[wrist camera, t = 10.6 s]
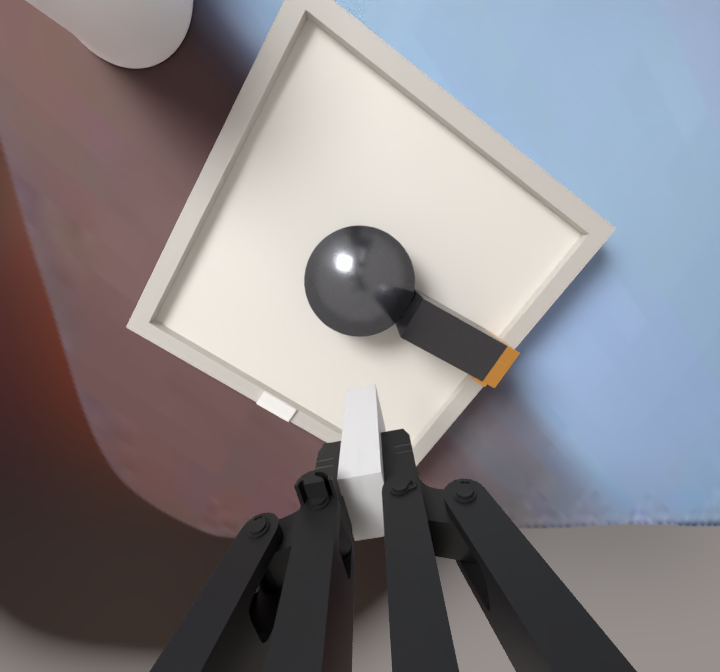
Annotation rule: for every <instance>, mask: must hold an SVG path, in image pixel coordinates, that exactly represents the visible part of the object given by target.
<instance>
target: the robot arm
mask: <svg viewBox="0 0 720 672" xmlns="http://www.w3.org/2000/svg"><path fill="white" fill-rule="evenodd" d="M315 468H316V469H315V470H313V471H310V472H307V473H306V474H304V475H302V476H301V477H300V478H299V479H298V480H297V482H296V484H295V486H294V487H295V490H296V492H297V495H298V498H299V501H300V504H301V507H300V509H299V510H298V511H296V512H295V513H293V514H291V515H289V516H286V517H284V518H282V519H278V517H277V516H276V515H275V514H272V513H262V514H259V515H257V516H255V517H253V518H252V519H251V520H249V521H248V522H247V523H246V524H245V525H244V526H243V528H242V529H241V531H240V532H239V534H238V535H237V537H236V538H235V540H234V541H233V543H232V545H231V546H230V548H229V549H228V551H227V552H226V554H225V555H224V557H223V559H222V560H221V562H220V563H219V565H218V567H217V568H216V570H215V571H214V573H213V574H212V576H211V577H210V579H209V580H208V582H207V583H206V585H205V586H204V588H203V590H202V591H201V593H200V594H199V596H198V597H197V599H196V600H195V602H194V604H193V605H192V607H191V608H190V610H189V612H188V613H187V615H186V616H185V618H184V619H183V621H182V622H181V624H180V625H179V627H178V628H177V630H176V632H175V633H174V635H173V636H172V638H171V639H170V641H169V642H168V644H167V645H166V647H165V649H164V651H163V652H162V653H161V655H160V656H159V658H158V659H157V661H156V663H155V664H154V666H153V667H152V669H151V670H150V672H352V640H353V603H354V567H355V554H354V548H353V545H352V532H353V535H354V539H355V541H357V540H363V539H369V538H376V537H382V536H384V539H385V556H386V571H387V572H386V573H387V588H388V605H389V622H390V639H391V654H392V655H391V656H392V672H459V669H458V664H457V660H456V655H455V650H454V645H453V640H452V635H451V631H450V626H449V621H448V617H447V612H446V607H445V602H444V597H443V592H442V587H441V583H440V578H439V573H438V568H437V563H436V559H435V556H439V557H444V558H450V559H455V560H456V562H457V564H458V566H459V568H460V570H461V572H462V574H463V575H464V577H465V579H466V581H467V583H468V585H469V586H470V588H471V590H472V592H473V594H474V595H475V597H476V599H477V601H478V603H479V605H480V606H481V608H482V610H483V612H484V613H485V616H486V617H487V619H488V621H489V623H490V625H491V627H492V628H493V630H494V632H495V634H496V636H497V638H498V639H499V641H500V643H501V645H502V647H503V649H504V650H505V652H506V654H507V656H508V658H509V660H510V661H511V663H512V665H513V667H514V668H515V670H516V672H637V671H636V670H635V669H634V668H633V667H632V665H631V664H630V663H629V662H628V661H627V659H626V658H625V657H624V656H623V654H622V653H621V652H620V651H619V650H618V648H617V647H616V646H615V645H614V644H613V643H612V641H611V640H610V639H609V638H608V636H607V635H606V634H605V633H604V632H603V630H602V629H601V628H600V627H599V626H598V624H597V623H596V622H595V621H594V620H593V618H592V617H591V616H590V615H589V613H588V612H587V611H586V610H585V609H584V608H583V606H582V605H581V604H580V603H579V602H578V600H577V599H576V598H575V597H574V596H573V594H572V593H571V592H570V591H569V589H568V588H567V587H566V586H565V584H564V583H563V582H562V581H561V580H560V578H559V577H558V576H557V575H556V574H555V573H554V571H553V570H552V569H551V568H550V566H549V565H548V564H547V563H546V562H545V560H544V559H543V558H542V557H541V556H540V554H539V553H538V552H537V551H536V549H535V548H534V547H533V546H532V545H531V543H530V542H529V541H528V540H527V539H526V537H525V536H524V535H523V534H522V533H521V531H520V530H519V529H518V528H517V527H516V525H515V524H514V523H513V522H512V521H511V519H510V518H509V517H508V516H507V514H506V513H505V512H504V511H503V510H502V508H501V507H500V506H499V505H498V504H497V502H496V501H495V500H494V499H493V498H492V496H491V495H490V494H489V493H488V492H487V490H486V489H485V488H484V487H483V486H482V485H481V484H479V483H478V482H476V481H473V480H471V479H459V480H454V481H453V482H451V483H449V484H448V485H447V486H446V488H445V489H444V490H443V489H435V488H431V487H429V486H426V485H425V484H424V483H422V481H421V480H420V479H419V477H418V473H417V468H416V464H415V459H414V454H413V450H412V445H411V440H410V435H409V434H408V433H407V432H406V431H405V430H404V429H398V430H392V431H387V432H386V428H385V424H384V420H383V415H382V411H381V407H380V402H379V398H378V393H377V389H376V385H375V384H370V385H365V386H360V387H355V388H349V389H347V392H346V402H345V411H344V420H343V429H342V438H341V441H336V442H331V443H325V444H324V445H323V447H322V448H321V449H320V451H319V452H318V457H317V462H316V467H315Z"/></svg>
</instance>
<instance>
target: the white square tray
mask: <svg viewBox="0 0 720 672" xmlns="http://www.w3.org/2000/svg"><path fill="white" fill-rule="evenodd" d="M358 225H360V226H370V227H374V228H377V229H380V230H382V231H384V232H386V233H388V234H390V235H391V236H393V237H394V238H395V239H396V240H397V241H398V242H399V243H400V244H401V245H402V246H403V247H404V249H405V250H406V252H407V253H408V255H409V257H410V259H411V262H412V265H413V268H414V274H415V288H414V289H416V290H418V291H420V292H421V293H423V294H425V295H427V296H429V297H430V298H432V299H434V300H436V301H437V302H439V303H441V304H443V305H444V306H446V307H448V308H450V309H452V310H453V311H455V312H457V313H459V314H460V315H462V316H464V317H466V318H467V319H469V320H471V321H473V322H474V323H476V324H478V325H480V326H482V327H483V328H485V329H487V330H489V331H490V332H492V333H494V334H495V335H496V336H498V337H499V338H500V339H502V340H503V341H504V342H506V343H507V344H508V345H510V346H511V347H512V348H514V349H515V348H516V347H517V346H518V345H519V344H520V343H521V341H522V340H523V339H524V338H525V337H526V335H527V334H528V333H529V332H530V331H531V329H532V328H533V327H534V326H535V325H536V323H537V322H538V321H539V320H540V319H541V318H542V316H543V315H544V314H545V313H546V312H547V310H548V309H549V308H550V307H551V306H552V304H553V303H554V302H555V301H556V300H557V299H558V297H559V296H560V295H561V294H562V293H563V291H564V290H565V289H566V288H567V287H568V285H569V284H570V283H571V282H572V281H573V280H574V278H575V277H576V276H577V275H578V274H579V272H580V271H581V270H582V269H583V268H584V266H585V265H586V264H587V263H588V262H589V260H590V259H591V258H592V257H593V256H594V255H595V253H596V252H597V251H598V250H599V249H600V247H601V246H602V245H603V244H604V243H605V241H606V240H607V239H608V238H609V237H610V236H611V234H612V233H613V232H614V231H615V230H616V228H615V227H614V226H612V225H611V224H610V223H609V222H608V221H606V220H605V219H604V218H603V217H601V216H600V215H599V214H598V213H596V212H595V211H594V210H593V209H591V208H590V207H589V206H588V205H586V204H585V203H584V202H583V201H581V200H580V199H579V198H578V197H577V196H575V195H574V194H573V193H572V192H570V191H569V190H568V189H567V188H565V187H564V186H563V185H562V184H560V183H559V182H558V181H557V180H555V179H554V178H553V177H552V176H550V175H549V174H548V173H547V172H546V171H544V170H543V169H542V168H541V167H539V166H538V165H537V164H536V163H534V162H533V161H532V160H531V159H529V158H528V157H527V156H526V155H524V154H523V153H522V152H521V151H520V150H518V149H517V148H516V147H515V146H513V145H512V144H511V143H510V142H508V141H507V140H506V139H505V138H503V137H502V136H501V135H500V134H498V133H497V132H496V131H495V130H493V129H492V128H491V127H490V126H489V125H487V124H486V123H485V122H484V121H482V120H481V119H480V118H479V117H477V116H476V115H475V114H474V113H472V112H471V111H470V110H469V109H467V108H466V107H465V106H464V105H463V104H461V103H460V102H459V101H458V100H456V99H455V98H454V97H453V96H451V95H450V94H449V93H448V92H446V91H445V90H444V89H443V88H441V87H440V86H439V85H438V84H436V83H435V82H434V81H433V80H432V79H430V78H429V77H428V76H427V75H425V74H424V73H423V72H422V71H420V70H419V69H418V68H417V67H415V66H414V65H413V64H412V63H410V62H409V61H408V60H407V59H405V58H404V57H403V56H402V55H401V54H399V53H398V52H397V51H396V50H394V49H393V48H392V47H391V46H389V45H388V44H387V43H386V42H384V41H383V40H382V39H381V38H379V37H378V36H377V35H376V34H375V33H373V32H372V31H371V30H370V29H368V28H367V27H366V26H365V25H363V24H362V23H361V22H360V21H358V20H357V19H356V18H355V17H353V16H352V15H351V14H350V13H348V12H347V11H346V10H345V9H344V8H342V7H341V6H340V5H339V4H337V3H336V2H335V1H334V0H284V2H283V4H282V6H281V8H280V10H279V12H278V14H277V16H276V18H275V20H274V22H273V24H272V27H271V29H270V31H269V33H268V35H267V37H266V39H265V41H264V43H263V45H262V47H261V49H260V51H259V53H258V55H257V58H256V60H255V62H254V64H253V66H252V68H251V70H250V72H249V74H248V76H247V78H246V80H245V82H244V84H243V87H242V89H241V91H240V93H239V95H238V97H237V99H236V101H235V103H234V105H233V107H232V109H231V111H230V113H229V115H228V118H227V120H226V122H225V124H224V126H223V128H222V130H221V132H220V134H219V136H218V138H217V140H216V142H215V144H214V146H213V149H212V151H211V153H210V155H209V157H208V159H207V161H206V163H205V165H204V167H203V169H202V171H201V173H200V175H199V178H198V180H197V182H196V184H195V186H194V188H193V190H192V192H191V194H190V196H189V198H188V200H187V202H186V204H185V206H184V209H183V211H182V213H181V215H180V217H179V219H178V221H177V223H176V225H175V227H174V229H173V231H172V233H171V235H170V237H169V240H168V242H167V244H166V246H165V248H164V250H163V252H162V254H161V256H160V258H159V260H158V262H157V264H156V266H155V269H154V271H153V273H152V275H151V277H150V279H149V281H148V283H147V285H146V287H145V289H144V291H143V293H142V295H141V297H140V300H139V302H138V304H137V306H136V308H135V310H134V312H133V314H132V316H131V318H130V320H129V322H128V324H127V326H126V328H128V329H130V330H132V331H133V332H135V333H137V334H139V335H140V336H142V337H144V338H146V339H147V340H149V341H151V342H153V343H154V344H156V345H158V346H160V347H161V348H163V349H165V350H166V351H168V352H170V353H172V354H173V355H175V356H177V357H179V358H180V359H182V360H184V361H186V362H187V363H189V364H191V365H193V366H194V367H196V368H198V369H200V370H201V371H203V372H205V373H207V374H208V375H210V376H212V377H214V378H215V379H217V380H219V381H221V382H222V383H224V384H226V385H227V386H229V387H231V388H233V389H234V390H236V391H238V392H240V393H241V394H243V395H245V396H247V397H248V398H250V399H252V400H254V401H255V402H257V403H256V404H258V405H259V406H261V407H263V408H265V409H266V410H268V411H270V412H272V413H273V414H275V415H277V416H279V417H280V418H282V419H284V420H286V421H287V422H289V421H290V422H292V423H294V424H295V425H297V426H299V427H301V428H302V429H304V430H306V431H308V432H309V433H311V434H313V435H315V436H316V437H318V438H320V439H322V440H323V441H325V442H327V443H331V442H336V441H341V438H342V429H343V420H344V411H345V402H346V392H347V389H349V388H355V387H360V386H365V385H370V384H375V385H376V389H377V393H378V398H379V402H380V407H381V411H382V415H383V420H384V424H385V428H386V432H387V431H392V430H398V429H404V430H405V431H406V432H407V433H408V434H409V435H410V440H411V445H412V450H413V454H414V459H415V464H416V466H417V465H418V464H419V463H420V461H421V460H422V459H423V458H424V457H425V455H426V454H427V453H428V452H429V451H430V449H431V448H432V447H433V446H434V445H435V444H436V442H437V441H438V440H439V439H440V438H441V436H442V435H443V434H444V433H445V432H446V430H447V429H448V428H449V427H450V426H451V425H452V423H453V422H454V421H455V420H456V419H457V417H458V416H459V415H460V414H461V413H462V411H463V410H464V409H465V408H466V407H467V406H468V404H469V403H470V402H471V401H472V400H473V398H474V397H475V396H476V395H477V394H478V392H479V391H480V390H481V389H482V388H483V386H484V387H485V386H486V385H487V384H486V383H484V382H482V381H480V380H478V379H477V378H475V377H473V376H471V375H469V374H467V373H465V372H464V371H462V370H460V369H458V368H456V367H454V366H452V365H451V364H449V363H447V362H445V361H443V360H441V359H440V358H438V357H436V356H434V355H432V354H430V353H428V352H427V351H425V350H423V349H421V348H419V347H417V346H415V345H414V344H412V343H410V342H408V341H406V340H404V339H403V338H401V337H400V334H399V332H398V329H397V326H396V324H394V325H393V326H392V327H390V328H388V329H387V330H385V331H383V332H381V333H378V334H375V335H371V336H363V337H356V336H349V335H345V334H341V333H339V332H336V331H334V330H333V329H331V328H329V327H328V326H326V325H325V324H324V323H323V322H322V321H321V320H320V319H319V318H318V317H317V316H316V315H315V313H314V312H313V310H312V308H311V307H310V305H309V302H308V300H307V297H306V293H305V286H304V276H305V269H306V265H307V262H308V260H309V257H310V255H311V254H312V252H313V250H314V249H315V247H316V246H317V245H318V244H319V243H320V242H321V241H322V240H323V239H324V238H325V237H327V236H328V235H329V234H331V233H333V232H335V231H336V230H339V229H342V228H345V227H349V226H358Z"/></svg>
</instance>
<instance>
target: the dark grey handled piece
mask: <svg viewBox="0 0 720 672" xmlns="http://www.w3.org/2000/svg"><path fill="white" fill-rule="evenodd" d="M304 286H305V293H306V297H307V300H308V302H309V305H310V307H311V308H312V310H313V312H314V313H315V315H316V316H317V317H318V318H319V319H320V320H321V321H322V322H323V323H324V324H325V325H326V326H328V327H329V328H331V329H333V330H334V331H336V332H339V333H341V334H345V335H349V336H356V337H363V336H371V335H375V334H378V333H381V332H383V331H385V330H387V329H388V328H390V327H392V326H393V325H394V324H396V326H397V329H398V332H399V334H400V337H401V338H403V339H404V340H406V341H408V342H410V343H412V344H414V345H415V346H417V347H419V348H421V349H423V350H425V351H427V352H428V353H430V354H432V355H434V356H436V357H438V358H440V359H441V360H443V361H445V362H447V363H449V364H451V365H452V366H454V367H456V368H458V369H460V370H462V371H464V372H465V373H467V374H469V375H471V376H473V377H475V378H477V379H478V380H480V381H482V382H484V383H486V384H488V385H490V386H491V387H493V388H495V387H496V386H497V384H498V383H499V382H500V380H501V379H502V378H503V376H504V375H505V373H506V372H507V371H508V369H509V368H510V367H511V365H512V364H513V362H514V361H515V360H516V358H517V357H518V356H519V354H520V353H519V352H518V351H517V350H515V349H514V348H512V347H511V346H510V345H508V344H507V343H506V342H504V341H503V340H502V339H500V338H499V337H498V336H496V335H495V334H494V333H492V332H490V331H489V330H487V329H485V328H483V327H482V326H480V325H478V324H476V323H474V322H473V321H471V320H469V319H467V318H466V317H464V316H462V315H460V314H459V313H457V312H455V311H453V310H452V309H450V308H448V307H446V306H444V305H443V304H441V303H439V302H437V301H436V300H434V299H432V298H430V297H429V296H427V295H425V294H423V293H421V292H420V291H418V290H416V289H414V288H415V274H414V268H413V265H412V262H411V259H410V257H409V255H408V253H407V252H406V250H405V249H404V247H403V246H402V245H401V244H400V243H399V242H398V241H397V240H396V239H395V238H394V237H393V236H391V235H390V234H388V233H386V232H384V231H382V230H380V229H377V228H374V227H370V226H360V225H358V226H349V227H345V228H342V229H339V230H336V231H335V232H333V233H331V234H329V235H328V236H327V237H325V238H324V239H323V240H322V241H321V242H320V243H319V244H318V245H317V246H316V247H315V249H314V250H313V252H312V254H311V255H310V257H309V260H308V262H307V265H306V269H305V276H304Z"/></svg>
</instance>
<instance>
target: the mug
mask: <svg viewBox="0 0 720 672" xmlns="http://www.w3.org/2000/svg"><path fill="white" fill-rule="evenodd" d="M25 1H27V2H28V3H30V4H31V5H33V6H34V7H35V8H37V9H38V10H40V11H41V12H43V13H44V14H46V15H47V16H48V17H50V18H51V19H53V20H54V21H56V22H57V23H58V24H60V25H61V26H63V27H64V28H65V29H67V30H68V31H70V32H71V33H72V34H74V35H75V36H76V37H77V38H78V39H79V40H80V41H81V42H82V43H83V44H84V45H85V46H86V47H87V48H88V49H89V50H91V51H92V52H93V53H94V54H96V55H97V56H99V57H100V58H102V59H104V60H106V61H108V62H110V63H112V64H114V65H117V66H121V67H125V68H132V69H140V68H147V67H151V66H154V65H157V64H159V63H161V62H163V61H164V60H166V59H167V58H169V57H170V56H171V55H172V54H173V53H174V52H175V51H176V50H177V49H178V47H179V46H180V44H181V43H182V41H183V40H184V38H185V36H186V33H187V31H188V28H189V25H190V22H191V17H192V11H193V0H25Z"/></svg>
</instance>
